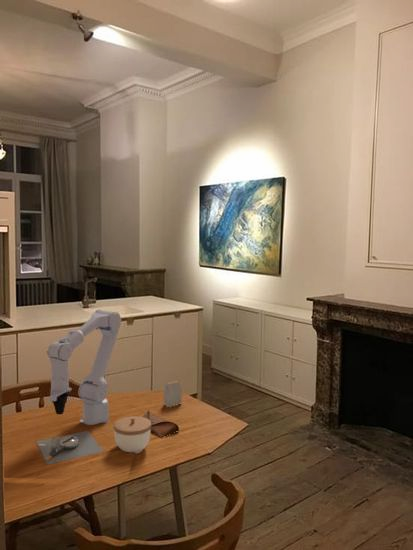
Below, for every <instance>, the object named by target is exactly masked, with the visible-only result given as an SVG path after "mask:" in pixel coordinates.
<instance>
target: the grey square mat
mask: <svg viewBox="0 0 413 550" xmlns="http://www.w3.org/2000/svg"><path fill="white" fill-rule="evenodd" d="M66 436H76V437H78V446H77V447H76V448H74V449H69V450H63V451H62V452H60V453H58V454H57V455H55V456H51V455H50V453H49V452H50V451H51V438H52V437H50V438H46V439H41V440H37V441H36V443H37V445H38V448H39V450H40V452H41V455H42V457H43V460H44V461H45V464H46V465H51V464H55V463H59V462H64V461H70V460H73V459H78V458H81V457H82V458H83V457H86V456H90V455H94V454H95V455H96V454H99V453H103V452H104V451H103V450H102V448H101V447H100V445H99V444H98V443H97V441H96V440H95V438H94V436H92V434H91V433H90V431H89V430H85V431H84V430H83V431H80V432H75V433H70V434H64V435H61V436H56V437H54V438H57V447H59V446H60V439H61V438H63V437H66Z"/></svg>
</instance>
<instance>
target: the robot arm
mask: <svg viewBox="0 0 413 550" xmlns="http://www.w3.org/2000/svg"><path fill="white" fill-rule="evenodd" d="M122 320H123V319H122V317H121V315H120V313H119V312H118V311H112V310H111V311H110V310H103V309H97V310H95V311H94V312H92V313H91V317H90V318H89V319H88V320H87V321H86V322H85V323H84V324H82V325H81V326H80V328H79V329H71V330H69V331H68V333H67V334H66V335H65V336H63V337H61V338H60V339H59V341H53V342H52V343H51V344H49V346H48V347H47V348H48V349H47V351H46V354H47V356H48V358H49V362H50V395H49V402H52V404H53V407H54V410H55V411H54V412H55V414H56V415H63V414H64V413H65V412H64V411H65V409H66V403H67V399H68V398H69V395H70V392H71V391H72V387H70V386H69V385H70V383H69V359H70V357H71V356H72V353H73V352H74V350H75V349H77V348H78V347H79V346H80V345H81V344H83V342H84V341H85V337H86V336H88V335H89V334H91V333H92V332H93V331H95V330H96V329H98V331H99V332H101V335H102V337H101V340H100V343H99V346H98V350H97V352H96V355H95V359H94V362H93V365H92V367H91V371H90V374H88V375H87V376H85V377H84V378H83V380H82V383H81V384H80V385H79V387H78V390H77V391H78V393H77V394H78V396H79V397H80V398H81V401H82V419H79V422H80V423H82V424H85V425H87V426H90V425H91V426H93V425H98V424H100V423H110V421H109V420H110V419H109V416H110V414H109V413H110V411H109V406H110V405H109V402H108V399H107V398H106V396H107V394H108V392H107V389H108V385H109V384H108V382H107V380H106V379H105V378H104V377H105V375H106V374H107V373H106V372H107V368H108V366H109V363H110V359H111V356H112V353H113V350H114V347H115V343H116V341H117V337H118V334H119V331H120V327H121V324H122Z"/></svg>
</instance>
